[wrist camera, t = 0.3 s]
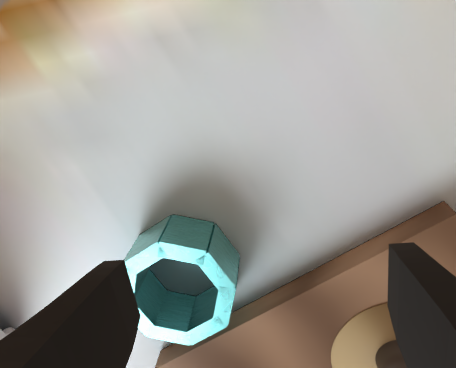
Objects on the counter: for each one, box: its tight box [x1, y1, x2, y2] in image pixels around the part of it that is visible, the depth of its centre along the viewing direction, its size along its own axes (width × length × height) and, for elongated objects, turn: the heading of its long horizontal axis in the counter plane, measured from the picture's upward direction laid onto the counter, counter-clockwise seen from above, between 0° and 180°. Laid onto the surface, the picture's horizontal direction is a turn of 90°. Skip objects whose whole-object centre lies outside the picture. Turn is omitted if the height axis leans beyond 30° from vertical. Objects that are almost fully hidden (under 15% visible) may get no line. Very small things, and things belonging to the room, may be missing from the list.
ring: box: [124, 215, 240, 346], centre depth 22 cm, size 6×6×3 cm
